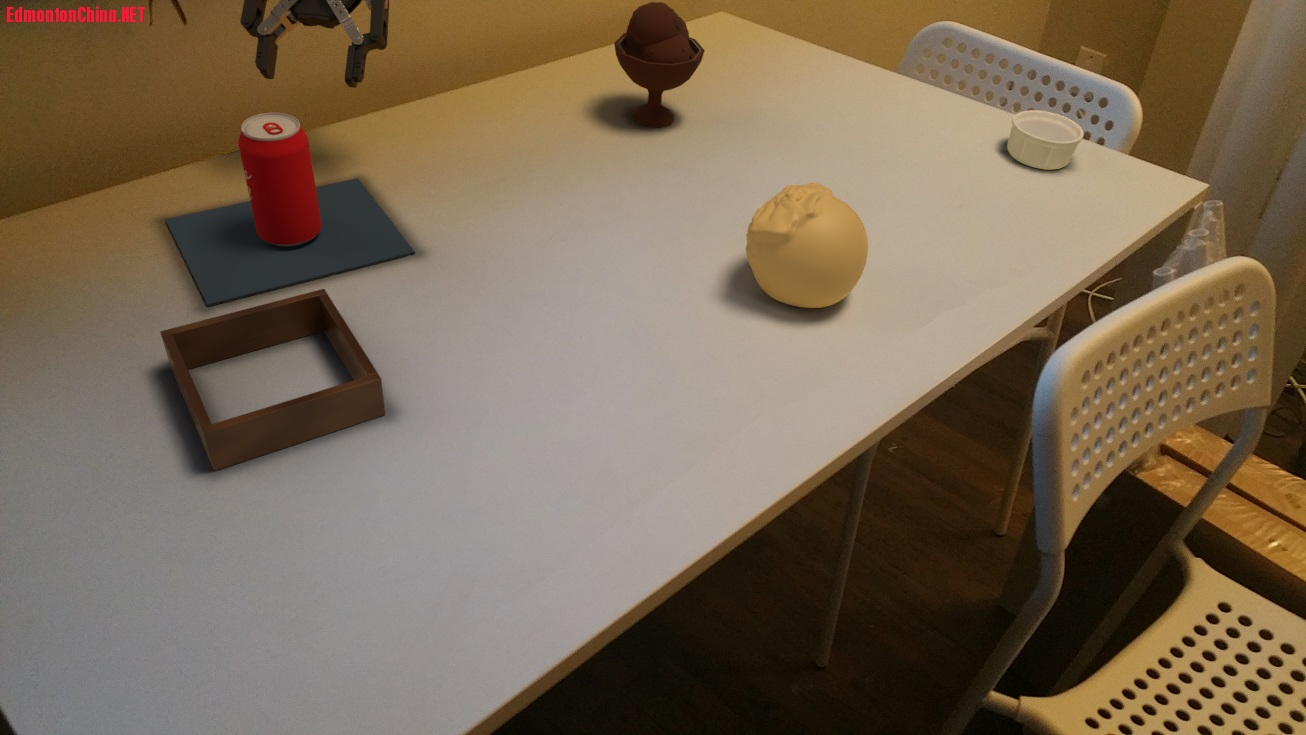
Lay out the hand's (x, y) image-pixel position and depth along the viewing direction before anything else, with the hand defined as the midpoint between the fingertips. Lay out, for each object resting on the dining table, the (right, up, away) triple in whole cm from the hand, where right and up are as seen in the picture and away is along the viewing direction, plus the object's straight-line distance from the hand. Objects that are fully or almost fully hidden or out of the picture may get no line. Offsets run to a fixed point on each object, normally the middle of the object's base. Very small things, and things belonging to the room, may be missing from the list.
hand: (308, 80), depth 100 cm
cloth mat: (-2, -16, -1) cm, 16 cm away
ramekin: (+85, -2, +28) cm, 90 cm away
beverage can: (-2, -16, -1) cm, 16 cm away
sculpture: (+50, -21, 0) cm, 54 cm away
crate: (+4, -31, -18) cm, 36 cm away
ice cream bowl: (+35, +3, +27) cm, 44 cm away
